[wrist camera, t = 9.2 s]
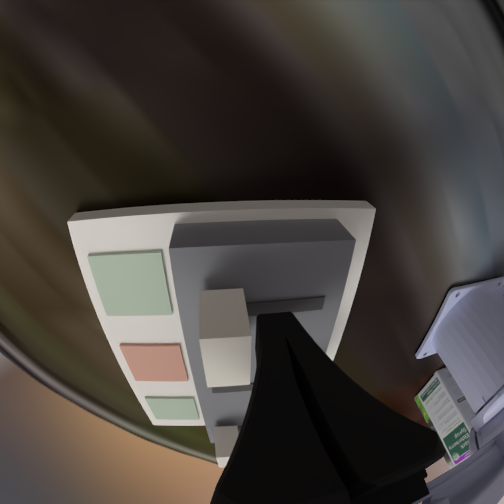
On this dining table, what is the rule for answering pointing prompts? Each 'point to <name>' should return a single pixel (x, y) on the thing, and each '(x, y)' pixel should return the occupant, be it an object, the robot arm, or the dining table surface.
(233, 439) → the knob far
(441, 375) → the syrup box
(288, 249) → the switch unit
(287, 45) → the dining table surface
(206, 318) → the knob near
